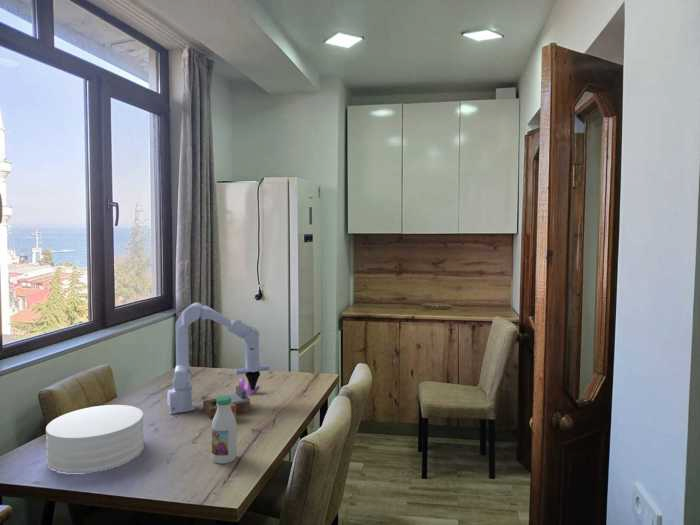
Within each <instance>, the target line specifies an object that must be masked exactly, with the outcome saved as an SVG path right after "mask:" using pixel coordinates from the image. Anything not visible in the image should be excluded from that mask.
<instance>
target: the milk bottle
mask: <svg viewBox="0 0 700 525" xmlns="http://www.w3.org/2000/svg"><path fill="white" fill-rule="evenodd" d="M216 398H217V401H216V402H217V411H216V414H215V416H214V418H213V419H212V424H211V459H212V462H214V463H215V464H221V465H222V464H230V463H231V462H234V461H235V460H236V459H237V455H238V453H237V452H238V451H237V449H238V446H237V443H238V442H237V441H238V440H237V438H238V437H237V418H236V419H235V416H234V414H233V412H232V410H231V397H229V396H221V397H220V396H219V397H216Z"/></svg>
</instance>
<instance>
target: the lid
mask: <svg viewBox="0 0 700 525" xmlns="http://www.w3.org/2000/svg"><path fill="white" fill-rule="evenodd" d="M221 396H229V397H231V403H234V404H239V403H245V402H250V403H251V399H250V397H248V395H246V391H245V390H244V389H243V388H241V387H240V386H239V385H237V386H235V392H230V393H225V394H219V397H221Z"/></svg>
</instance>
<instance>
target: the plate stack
mask: <svg viewBox="0 0 700 525" xmlns="http://www.w3.org/2000/svg"><path fill="white" fill-rule="evenodd" d="M45 434H46V436H45V441H46V443H45V444H46V465H48V466H49V467H50V468H52V469H54V470H56V471H60V472H66V473H90V472H96V471H101V472H104V471H103V470H105V471H108V470H107V469H109V470H111V468H112V469H114V467H115V468H117V467H120V466H123V465H124V464H127V463H130V462H131V461H133V460H134V459H136V458H137V457H138V456H139V455H141V453H142V452H143V450H144V413H143V411H142V409H140V408H138V407H135V406H132V405H125V404H105V405H97V406H96V405H95V406H89V407H85V408H81V409H76V410H73V411H70V412H67V413H64V414H62V415H60V416H57V417H56V418H54V419H52V420H51V421H50V422H49V423H48V424H47V425H46V427H45ZM135 457H136V458H135ZM132 459H133V460H132ZM130 460H131V461H130ZM96 473H97V472H96ZM90 474H91V473H90Z"/></svg>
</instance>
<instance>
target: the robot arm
mask: <svg viewBox="0 0 700 525" xmlns="http://www.w3.org/2000/svg"><path fill="white" fill-rule="evenodd" d="M200 318H201V320H212V321H214V322H216V323H218V324H220V325H222V326H224V327H226V328H227V330H228V332H229V333H231V334H233V335H235V336H237V338H240V339H244V342H245V346H244V347H245V348H244V350H245V351H244V353H245V354H244V358H245V366H244V367H241V368H237V369H234V375H235V376H239V375H245V377H246V379H247V383H248V382H249V385H250V389H251V390H255V387H256V384H258V383H257V382H258V380H259V378H260V376H261V372H265V371H270V368H271V367H270V365H269V364H262V365H261V364H260V346H259V345H260V342H259V341H260V331H259V330H258V329H257V328H256V327H253V326H252V325H247V324H245V322H242V320H241V319H237V318H236V319H233V320H232V319H230V318H228V317H227V316H225V315H223V314H222V313H219V312H218V311H216V310H215V309H213V308H211V307H209V306H208V305H205V304H204V305H203V304H202V303H201V302H193V303H191V304H190V305H188V307H187V308H185V309H184V310H183V311H182V312H181V314H180V315H179V317H178V318H177V320H176V321H175V367H174V368H175V369H174V377H173V378H172V381H171V384H172V387H173V388H172V389H168V390H167V392H166V393H167V394H166V396H167V397H166V399H167V401H166V404H167V407H166V409H167V410H168V412H169V414H171V415H174V414H179V413H180V414H181V413H184V412H185V413H186V412H190V411H195V410H196V408H195V407H194V406H193V390H192V389H193V388H192V386H193V385H192V384H191V381H192V380H193V373H192V371H191V368H190V366H191V365H190V363H189V355H190V354H189V352H190V351H189V350H190V349H189V348H190V347H189V326H190V325H191V324H193V323H194V322H196V321H198V320H199V319H200ZM255 391H256V390H255Z"/></svg>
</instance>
